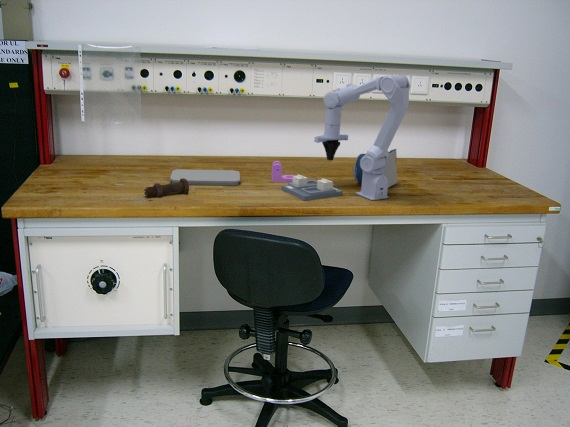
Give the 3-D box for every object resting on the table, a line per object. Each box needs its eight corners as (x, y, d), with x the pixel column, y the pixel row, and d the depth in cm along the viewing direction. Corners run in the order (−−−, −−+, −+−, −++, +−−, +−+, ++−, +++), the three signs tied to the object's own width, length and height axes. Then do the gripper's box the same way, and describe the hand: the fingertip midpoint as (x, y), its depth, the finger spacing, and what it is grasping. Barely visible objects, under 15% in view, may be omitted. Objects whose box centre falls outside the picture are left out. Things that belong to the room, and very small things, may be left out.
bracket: (271, 181, 221) (272, 164, 218) (271, 177, 226) (272, 160, 224) (305, 182, 221) (306, 165, 219) (303, 179, 227) (304, 162, 224)
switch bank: (342, 195, 207) (343, 188, 206) (304, 200, 198) (304, 194, 197) (318, 184, 219) (318, 178, 218) (281, 189, 210) (281, 183, 209)
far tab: (307, 186, 209) (307, 176, 208) (298, 187, 207) (298, 177, 206) (301, 183, 212) (301, 173, 211) (292, 184, 210) (292, 174, 209)
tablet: (240, 187, 212) (240, 181, 211) (169, 186, 209) (169, 180, 208) (239, 175, 227) (239, 170, 227) (173, 174, 224) (173, 169, 223)
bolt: (145, 202, 194) (185, 195, 202) (149, 198, 190) (190, 192, 198) (141, 185, 195) (182, 179, 202) (145, 182, 190) (186, 176, 198)
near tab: (332, 190, 205) (333, 180, 204) (323, 191, 203) (324, 181, 202) (325, 187, 209) (326, 177, 207) (316, 188, 206) (317, 178, 205)
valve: (398, 183, 225) (397, 145, 221) (381, 191, 213) (380, 151, 209) (367, 182, 232) (366, 145, 229) (350, 189, 220) (349, 151, 217)
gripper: (341, 121, 219) (338, 156, 223) (310, 123, 211) (308, 159, 216) (352, 124, 213) (349, 160, 218) (321, 126, 206) (319, 163, 210)
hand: (329, 159), depth 216 cm, fingers closed
